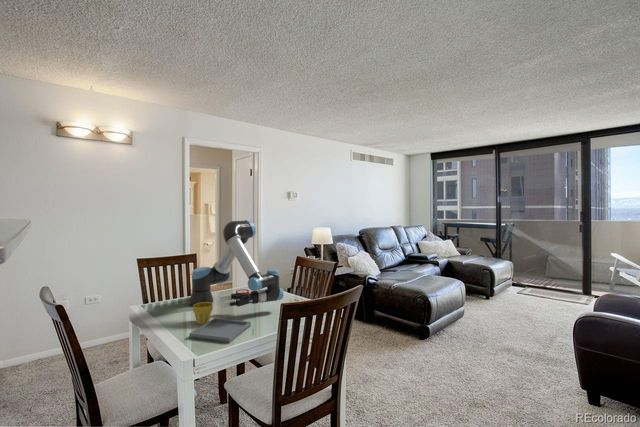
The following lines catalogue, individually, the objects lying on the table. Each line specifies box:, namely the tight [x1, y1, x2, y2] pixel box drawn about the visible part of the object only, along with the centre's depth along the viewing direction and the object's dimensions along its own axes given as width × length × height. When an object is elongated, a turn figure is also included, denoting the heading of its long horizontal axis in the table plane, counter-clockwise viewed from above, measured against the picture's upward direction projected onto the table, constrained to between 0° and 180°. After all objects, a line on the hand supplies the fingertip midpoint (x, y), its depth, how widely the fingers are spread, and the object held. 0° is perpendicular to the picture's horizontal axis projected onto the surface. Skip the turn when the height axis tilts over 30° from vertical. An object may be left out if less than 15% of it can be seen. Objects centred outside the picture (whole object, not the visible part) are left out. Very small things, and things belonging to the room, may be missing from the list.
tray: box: [189, 317, 252, 344], centre depth 164 cm, size 22×22×2 cm
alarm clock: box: [235, 288, 251, 295], centre depth 227 cm, size 10×6×15 cm
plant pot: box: [192, 302, 214, 325], centre depth 178 cm, size 10×10×10 cm
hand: (221, 301), depth 182 cm, fingers open, 13 cm apart
